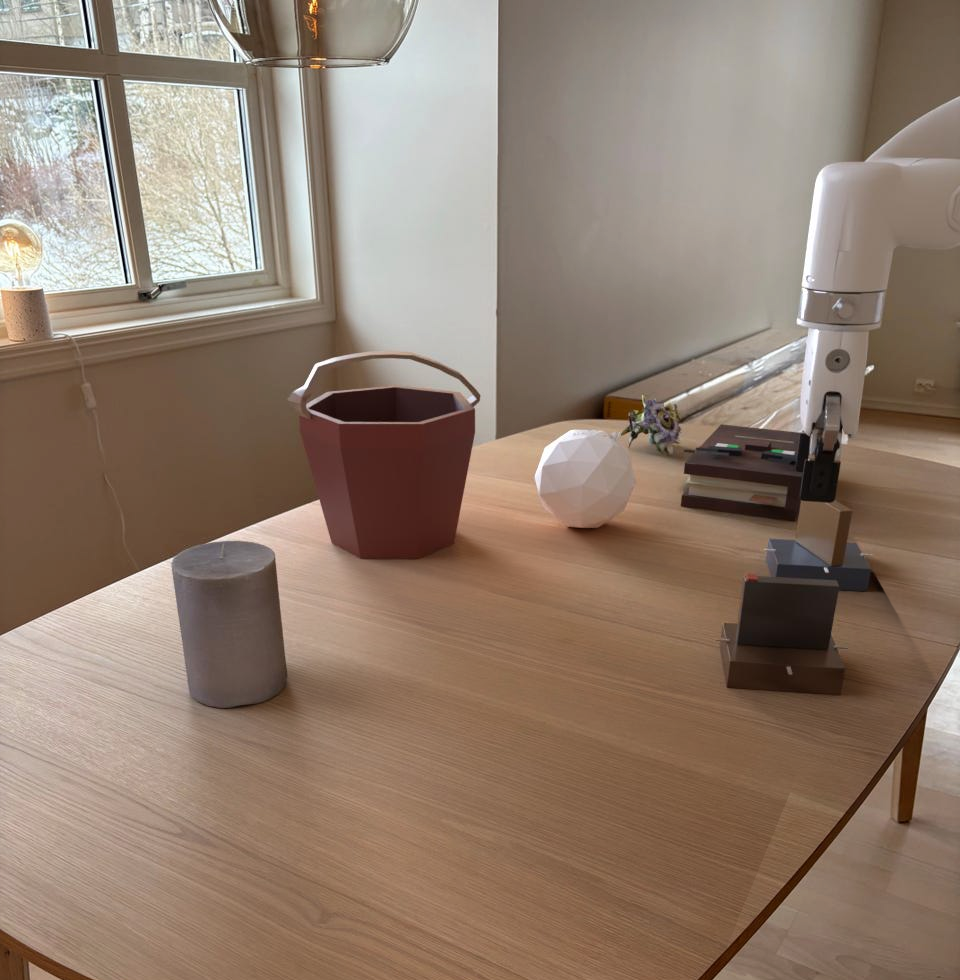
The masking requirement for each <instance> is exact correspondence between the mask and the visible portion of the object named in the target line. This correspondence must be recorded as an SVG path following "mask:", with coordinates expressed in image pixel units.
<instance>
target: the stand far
mask: <svg viewBox="0 0 960 980" xmlns="http://www.w3.org/2000/svg"><path fill="white" fill-rule="evenodd" d="M763 551H764V552H766V555H765V561H766V564H767V567H768V571H769V574H770V577H783V578H801V579H820V580H836V581H837V583H838V585H839V591H851V592H853V591H854V592H868V588H869V581H870V576H871V571H872V567H870V565H869V563H868V561H867V560H866V558H865V557H874V554H873V553H862V551H861V549H860V547H859V545H858V544H857V543H856V542H847V545H846V550H845V556H844V561H843V565H840V566H830V565H829V564H827V563H826V562H824V561H823V560H821V559H820V558H819V557H817V556H816V555H814V554H813V553H812V552H810V551H809V550H807V549H806V548H804V547H803V546H802V545H800V544H799V543H797V542H796V541H795V539H786V538H785V539H784V538H783V539H782V538H768V541H767V548H763Z"/></svg>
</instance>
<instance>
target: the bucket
mask: <svg viewBox="0 0 960 980" xmlns="http://www.w3.org/2000/svg"><path fill="white" fill-rule="evenodd" d="M378 359H398V360H400V359H401V360H411V361H413V362H417V363H420V364H422V365H426V366H429V367H431V368H433V369H436V370H439V371H441V372H443V373H445V374H446V375H448V376H451V377H453V378H455V379H457V380H459V382H461V384H462V385H463V386H464V387H466V388H467V389H468V391H469V392H470V394H471V396H469V397H468V398H466V397H465V396H464V395H463V394H462V393H461V392H460V391H452V390H444V389H443V390H442V389H432V388H426V387H425V388H424V387H415V386H405V385H396V384H395V385H385V386H375V387H373V386H372V387H365V388H354V389H344V390H342V389H341V390H332V391H326V392H324V393H323V394H321V395H319V396H318V397H315V398H313V400H311V401H308V399H309V398H311V396H312V395H313V394H314V393H315V390H316V388H317V387H318V384H319V382H320V381H321V379H322V377H323V375H324V373H325V371H328V370H331V369H334V368H338V367H341V366H345V365H349V364H352V363H357V362H362V361H370V360H378ZM286 401H287V402H288V404H289V405H290V406H291V408H292V409H293V410H294V411H295V413H296V414H297V415H298V421H299V422H298V423H299V432H300V437H301V440H302V444H303V446H304V450H305V454H306V457H307V461H308V464H309V467H310V472H311V475H312V479H313V482H314V486H315V489H316V493H317V496H318V499H319V503H320V507H321V510H322V514H323V518H324V521H325V525H326V528H327V531H328V535H329V538H330V542H331V544H333V545H335V546H336V547H338V548H340V549H342V550H343V551H346V552H347V553H349V554H351V555H353V556H355V557H357V558H358V559H362V560H363V559H364V560H365V559H366V560H367V559H368V560H369V559H370V560H374V559H375V560H418V559H420V558H422V557H425V556H427V555H429V554H432V553H434V552H437V551H439V550H441V549H444V548H446V547H448V546H449V547H450V546H451V545H454V543H455V541H456V540H455V539H456V534H457V529H458V525H459V519H460V513H461V508H462V503H463V497H464V493H465V489H466V488H465V487H466V482H467V477H468V472H469V467H470V461H471V457H472V452H473V451H472V450H473V446H474V440H475V435H476V408H475V407H476V406H477V404H478V403H480V401H481V394H480V393H479V391H478V390H477V389H476V388H475V387H474V386H473V384H471V383H470V381H468V379H466V378H465V377H464V375H463V374H461V372H460V371H458V370H456V369H454V368H451V367H449V366H447V365H445V364H443V363H441V362H440V361H437V360H435V359H432V358H429V357H427V356H424V355H421V354H417V353H415V352H412V351H401V350H373V351H372V350H371V351H370V350H369V351H363V352H355V353H350V354H343V355H339V356H336V357H331V358H328V359H325V360H322V361H320V362H317V363H315V364H314V366H313V368H312V370H311V372H310V374H309V375H308V378H307V379H306V381H305V383H304V385H303V386H301V387H298V388H296V389H295V390H293V391H292V392H291V393H290V394H289V396H288V397H287V399H286ZM307 401H308V402H307Z"/></svg>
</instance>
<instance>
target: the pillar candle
mask: <svg viewBox="0 0 960 980" xmlns="http://www.w3.org/2000/svg"><path fill="white" fill-rule="evenodd" d="M170 565H171V566H170V567H171V574H172V581H173V588H174V595H175V602H176V608H177V617H178V622H179V629H180V636H181V643H182V649H183V657H184V658H183V659H184V665H185V671H186V680H187V687H188V692H189V695H190V696H191V697H192V698H193V699H194V700H195V701H196V702H198V703H200V704H203V705H206V706H208V707H215V708H218V709H225V708H233V707H238V706H245V705H246V706H247V705H254V704H255V705H256V704H260V703H263V702H266V701H268V700H270V699H272V698H274V697H275V696H277V695H279V694H280V693H281V692H282V691H283V689H284V688H285V686H286V684H287V678H288V676H289V675H288V668H287V659H286V651H285V641H284V630H283V622H282V612H281V611H282V610H281V601H280V592H279V580H278V571H277V561H276V553H275V551H274V550H273V549H272V548H270V547H268V546H267V545H265V544H262V543H258V542H254V541H246V540H245V541H244V540H221V541H212V542H207V543H206V542H205V543H200V544H198V545H194V546H191V547H188V548H186V549H184V550H183V551H181V552H179V553H177V554H176V555H174V557H173V559H172V560H171V563H170Z"/></svg>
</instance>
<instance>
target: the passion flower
mask: <svg viewBox="0 0 960 980" xmlns="http://www.w3.org/2000/svg"><path fill="white" fill-rule="evenodd" d="M641 400H642V405H643V408H642V409H641V410H642V413H639V410H637V409H632V410H631V411H629V413H628V423H629V424H628V425H627V427H625V429H623V430H622V432H620V437H622V436H624V435H625V436H626V435H627V434H628V433H630V434H629V435H630V436H629V438H628V447H627V448H628V449H630V447H631V445H632V442H633V441H634V440H636V439H637V438H638V436H639V435H640V434H644V435H648V434H650V435H649V438H648V441H649V444H651V445H654V447H655V448H656V451H658V453H660V454H664V453H665V454H666V455H668V456H672V455H673V453H674V444H676V445H680V444H681V440H680V434H682V428H681V426H680V424H681V423H682V422H681V420H682V416H681V414H680V413H679V412H678V411H679V410H678V406H677V404H675V403H674V404H673V405H672V404H671V403H667V404H665V405H664V402H662V403H659V401H658V400H657V399H656V398H653V399H652V400H651V401H650V400H649V399H647V396H646V394H645V395H644V394H642V395H641ZM638 413H639V414H638ZM636 429H637V430H636Z"/></svg>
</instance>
